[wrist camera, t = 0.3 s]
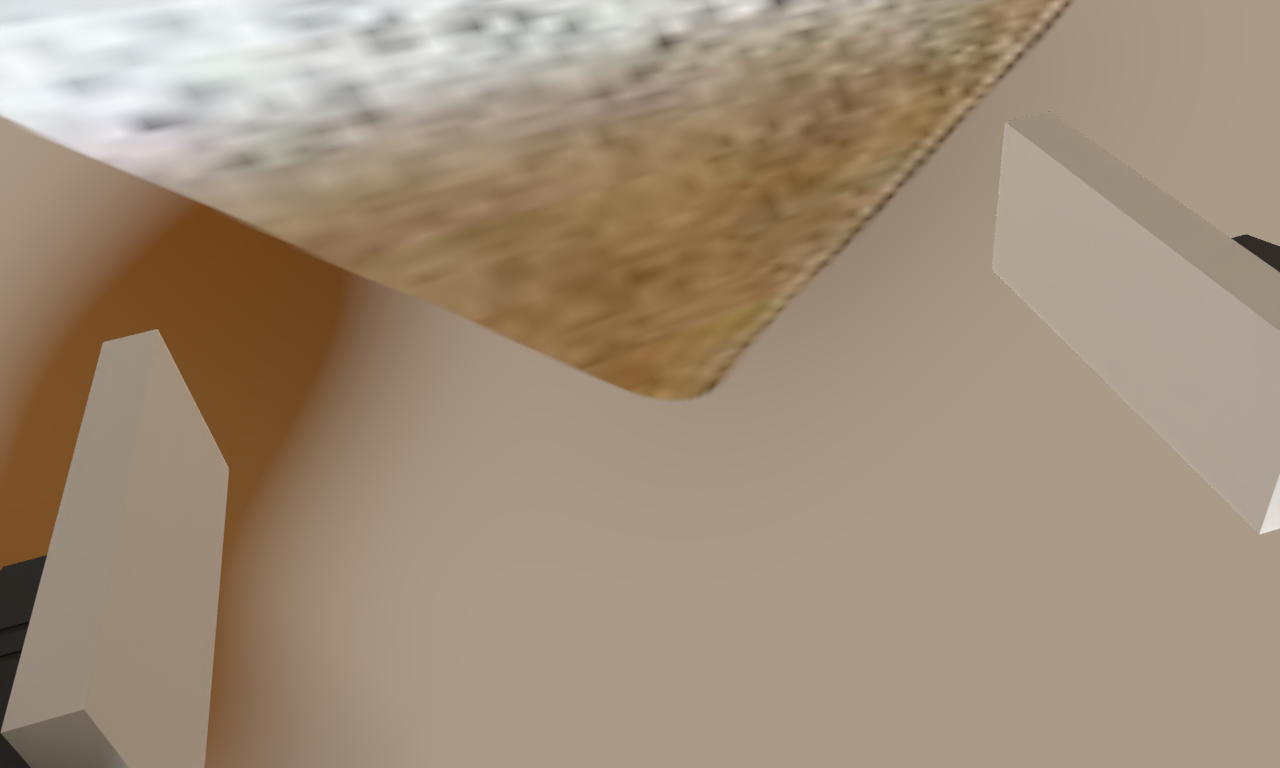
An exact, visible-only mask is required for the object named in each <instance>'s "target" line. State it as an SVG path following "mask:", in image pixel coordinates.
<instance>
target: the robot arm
mask: <svg viewBox="0 0 1280 768" xmlns="http://www.w3.org/2000/svg"><path fill="white" fill-rule="evenodd" d="M992 270H993V271H994V272H995V273H996V274H997V275H998V276H999V277H1000V278H1001V279H1002V280H1003V281H1004V282H1005V283H1006V284H1007V285H1008V286H1009V287H1010V288H1011V289H1012V290H1013V291H1014V292H1015V293H1016V294H1017V295H1018V296H1019V297H1020V298H1021V299H1022V300H1023V301H1024V302H1025V303H1026V304H1027V305H1028V306H1029V307H1030V308H1031V309H1032V310H1033V311H1034V312H1035V313H1036V314H1037V315H1038V316H1039V317H1040V318H1041V319H1042V320H1043V321H1044V322H1045V323H1046V324H1047V325H1048V326H1049V327H1050V328H1051V329H1052V330H1053V331H1054V332H1055V333H1056V334H1057V335H1059V337H1060V338H1061V339H1062V340H1063V341H1064V342H1065V343H1067V345H1069V347H1071V348H1072V349H1073V350H1074V351H1075V352H1076V353H1077V354H1078V355H1079V356H1080V357H1081V358H1082V359H1083V360H1084V361H1085V362H1086V363H1087V364H1088V365H1089V366H1090V367H1091V368H1092V369H1093V370H1094V371H1095V372H1096V373H1097V374H1098V375H1099V376H1100V377H1101V378H1102V379H1103V380H1104V381H1105V382H1106V383H1107V384H1108V385H1109V386H1110V387H1111V388H1112V389H1113V390H1114V391H1115V392H1116V393H1117V394H1118V395H1119V396H1120V397H1121V398H1122V399H1123V400H1124V401H1125V402H1126V403H1127V404H1128V405H1129V406H1130V407H1131V408H1132V409H1133V410H1134V411H1135V412H1136V413H1137V414H1138V415H1139V416H1140V417H1141V418H1142V419H1143V420H1144V421H1145V422H1146V423H1147V424H1148V425H1149V426H1150V427H1151V428H1152V429H1153V430H1154V431H1155V432H1156V433H1157V434H1158V435H1159V436H1160V437H1161V438H1162V439H1163V440H1165V442H1167V443H1168V444H1169V446H1170V447H1172V448H1173V450H1175V451H1176V452H1177V453H1178V454H1179V455H1180V456H1181V457H1182V458H1183V459H1184V460H1185V461H1186V462H1187V463H1188V464H1189V465H1190V466H1191V467H1192V468H1193V469H1194V470H1195V471H1196V472H1197V473H1198V474H1199V475H1200V476H1201V477H1202V478H1203V479H1204V480H1205V481H1206V482H1207V483H1208V484H1209V485H1210V486H1211V487H1212V488H1213V489H1214V490H1215V491H1216V492H1217V493H1218V494H1219V495H1220V496H1221V497H1222V498H1223V499H1224V500H1225V501H1226V502H1227V503H1228V504H1229V505H1230V506H1231V507H1232V508H1233V509H1234V510H1235V511H1236V512H1237V513H1238V514H1239V515H1240V516H1241V517H1242V518H1243V519H1244V520H1245V521H1246V522H1247V523H1248V524H1249V525H1250V526H1251V527H1252V528H1253V529H1254V530H1255V531H1256V532H1258V534H1263V533H1266V532H1269V531H1272V530H1276V529H1279V528H1280V246H1277V245H1274V244H1271V243H1269V242H1266V241H1263V240H1260V239H1258V238H1255V237H1252V236H1249V235H1242V236H1238V237H1234V238H1230V237H1229V236H1227V235H1226V234H1224V233H1223V232H1221V231H1220V230H1219V229H1217V228H1216V227H1214V226H1213V225H1212V224H1210V223H1208V222H1207V221H1206V220H1204V219H1203V218H1202V217H1200V216H1199V215H1197V214H1196V213H1194V212H1193V211H1191V210H1190V209H1189V208H1187V207H1186V206H1184V205H1183V204H1182V203H1180V202H1179V201H1177V200H1176V199H1174V198H1173V197H1171V196H1170V195H1169V194H1167V193H1166V192H1164V191H1163V190H1162V189H1160V188H1159V187H1157V186H1156V185H1155V184H1153V183H1151V182H1150V181H1149V180H1147V179H1146V178H1145V177H1143V176H1142V175H1140V174H1139V173H1137V172H1136V171H1134V170H1133V169H1132V168H1130V167H1129V166H1127V165H1126V164H1125V163H1123V162H1122V161H1120V160H1119V159H1117V158H1116V157H1115V156H1113V155H1112V154H1110V153H1109V152H1107V151H1106V150H1105V149H1103V148H1102V147H1100V146H1099V145H1097V144H1096V143H1095V142H1093V141H1092V140H1090V139H1089V138H1087V137H1086V136H1085V135H1083V134H1082V133H1080V132H1079V131H1078V130H1076V129H1075V128H1073V127H1072V126H1070V125H1069V124H1068V123H1066V122H1065V121H1063V120H1062V119H1060V118H1059V117H1058V116H1056V115H1055V114H1053V113H1052V112H1050V111H1047V112H1043V113H1039V114H1035V115H1031V116H1027V117H1023V118H1019V119H1015V120H1010V121H1007V122H1005V127H1004V137H1003V149H1002V160H1001V171H1000V183H999V194H998V206H997V216H996V227H995V239H994V250H993V262H992ZM228 474H229V468H228V466H227V464H226V462H225V460H224V458H223V456H222V454H221V452H220V450H219V449H218V446H217V445H216V442H215V441H214V438H213V437H212V435H211V433H210V431H209V429H208V427H207V425H206V423H205V421H204V419H203V417H202V415H201V413H200V411H199V409H198V407H197V405H196V403H195V401H194V399H193V397H192V395H191V393H190V391H189V390H188V387H187V386H186V384H185V382H184V380H183V378H182V376H181V374H180V372H179V370H178V368H177V366H176V364H175V362H174V360H173V358H172V356H171V354H170V352H169V350H168V348H167V346H166V345H165V342H164V340H163V338H162V336H161V335H160V333H159V331H158V329H156V330H152V331H148V332H144V333H140V334H136V335H131V336H127V337H123V338H119V339H115V340H111V341H107V342H103V345H102V348H101V352H100V356H99V360H98V364H97V367H96V371H95V375H94V379H93V383H92V387H91V390H90V394H89V398H88V402H87V405H86V410H85V414H84V417H83V421H82V425H81V429H80V432H79V436H78V440H77V443H76V447H75V451H74V455H73V459H72V463H71V466H70V470H69V474H68V478H67V482H66V486H65V489H64V493H63V497H62V501H61V504H60V508H59V512H58V516H57V520H56V524H55V528H54V532H53V535H52V539H51V543H50V546H49V550H48V554H47V555H46V556H42V557H39V558H35V559H31V560H27V561H23V562H20V563H16V564H12V565H8V566H5V567H3V568H2V570H1V571H0V768H204V766H205V754H206V741H207V730H208V718H209V706H210V693H211V681H212V668H213V657H214V645H215V633H216V621H217V608H218V597H219V584H220V572H221V560H222V548H223V536H224V524H225V511H226V500H227V487H228Z"/></svg>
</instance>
